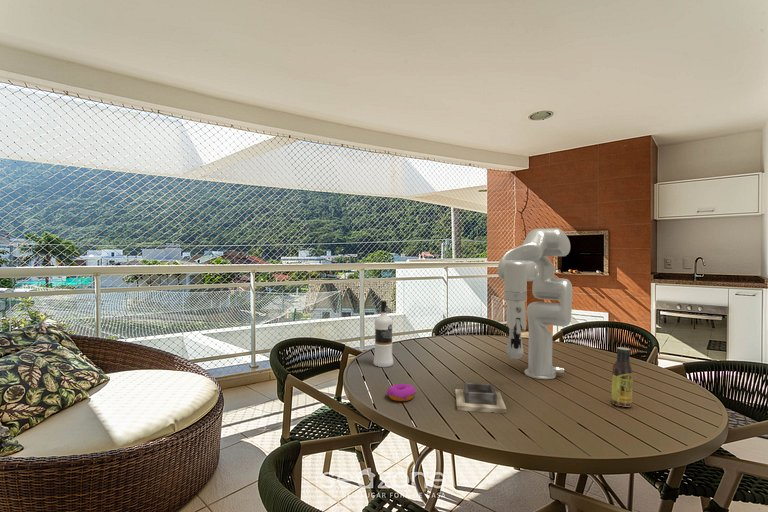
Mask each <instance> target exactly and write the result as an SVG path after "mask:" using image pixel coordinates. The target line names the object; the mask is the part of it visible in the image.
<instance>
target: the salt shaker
mask: <svg viewBox="0 0 768 512" xmlns="http://www.w3.org/2000/svg"><path fill="white" fill-rule="evenodd" d="M514 330H516V328H514ZM514 333H515V332H514ZM511 339H512V330H511V329H510V333H509V332H508V339H507V344H506V348H505V351H506V354H507V357H508V358H509V359H512V360H520V359H522V357H523V355H524V347H523V340H522V338H521V349H520V345H519V348H518V349H515V348H514V343H513V345H512V348H511Z"/></svg>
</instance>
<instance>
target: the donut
mask: <svg viewBox="0 0 768 512" xmlns="http://www.w3.org/2000/svg"><path fill="white" fill-rule="evenodd" d="M415 394H416V388H415V386H414V385H411V384H407V383H397V384H393V385H390V386H389V387H388V388H387V391H386V395H387V396H388V398H389V399H390V400H392V401H395V402H407V401H411V400H412V399H413V398H414V397H415Z"/></svg>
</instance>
